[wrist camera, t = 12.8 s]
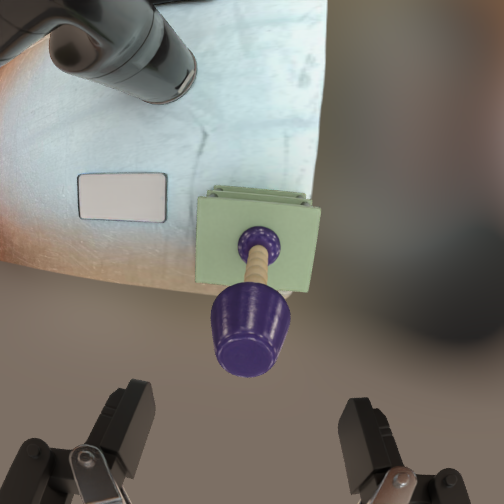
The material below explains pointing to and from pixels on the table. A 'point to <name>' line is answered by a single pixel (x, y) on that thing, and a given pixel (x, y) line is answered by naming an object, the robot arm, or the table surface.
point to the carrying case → (162, 1)
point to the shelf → (249, 215)
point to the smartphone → (123, 197)
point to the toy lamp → (251, 310)
